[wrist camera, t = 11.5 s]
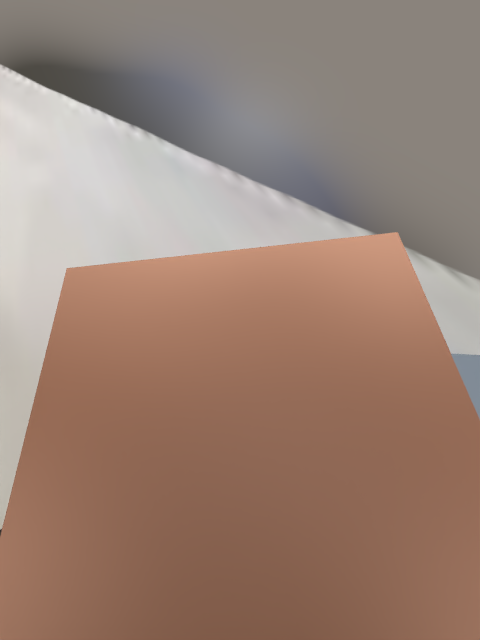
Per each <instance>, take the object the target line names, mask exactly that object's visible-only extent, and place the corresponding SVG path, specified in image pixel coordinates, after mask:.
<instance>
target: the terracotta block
mask: <svg viewBox="0 0 480 640" xmlns="http://www.w3.org/2000/svg"><path fill="white" fill-rule="evenodd" d="M0 640H480V419H479V417H478V414H477V412H476V410H475V408H474V405H473V403H472V401H471V398H470V396H469V394H468V392H467V389H466V387H465V385H464V383H463V380H462V378H461V376H460V373H459V371H458V369H457V367H456V364H455V362H454V360H453V357H452V355H451V353H450V351H449V348H448V346H447V344H446V341H445V339H444V337H443V335H442V332H441V330H440V328H439V326H438V323H437V321H436V319H435V316H434V314H433V312H432V310H431V307H430V305H429V303H428V300H427V298H426V296H425V294H424V291H423V289H422V287H421V285H420V282H419V280H418V278H417V275H416V273H415V271H414V269H413V266H412V264H411V262H410V259H409V257H408V255H407V253H406V250H405V248H404V246H403V244H402V241H401V239H400V237H399V235H398V233H397V232H396V233H387V234H378V235H369V236H360V237H350V238H341V239H332V240H323V241H314V242H305V243H295V244H286V245H277V246H268V247H259V248H249V249H240V250H231V251H222V252H213V253H204V254H194V255H185V256H176V257H167V258H158V259H149V260H139V261H130V262H121V263H112V264H103V265H94V266H84V267H75V268H67V270H66V274H65V278H64V282H63V286H62V290H61V294H60V298H59V302H58V306H57V310H56V314H55V318H54V322H53V326H52V330H51V334H50V338H49V342H48V346H47V350H46V354H45V358H44V362H43V366H42V370H41V374H40V379H39V383H38V387H37V391H36V395H35V399H34V403H33V407H32V411H31V415H30V419H29V423H28V427H27V431H26V435H25V439H24V443H23V447H22V451H21V455H20V459H19V463H18V467H17V471H16V475H15V479H14V483H13V487H12V491H11V495H10V499H9V503H8V507H7V511H6V515H5V520H4V524H3V528H2V532H1V536H0Z"/></svg>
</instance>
